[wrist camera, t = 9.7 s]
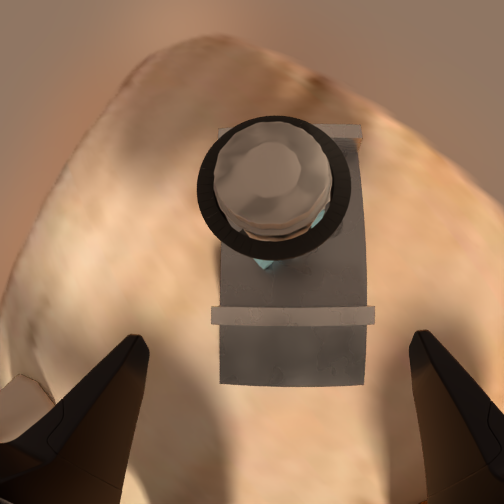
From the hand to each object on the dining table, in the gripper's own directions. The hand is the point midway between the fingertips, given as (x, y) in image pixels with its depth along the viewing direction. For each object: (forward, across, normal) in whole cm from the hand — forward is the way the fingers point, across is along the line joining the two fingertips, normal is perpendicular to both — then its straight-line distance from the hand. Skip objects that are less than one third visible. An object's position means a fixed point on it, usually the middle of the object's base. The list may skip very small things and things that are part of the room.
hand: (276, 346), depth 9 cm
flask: (+1, +24, +15) cm, 28 cm away
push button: (+11, -1, +2) cm, 11 cm away
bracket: (+10, -1, +4) cm, 11 cm away
